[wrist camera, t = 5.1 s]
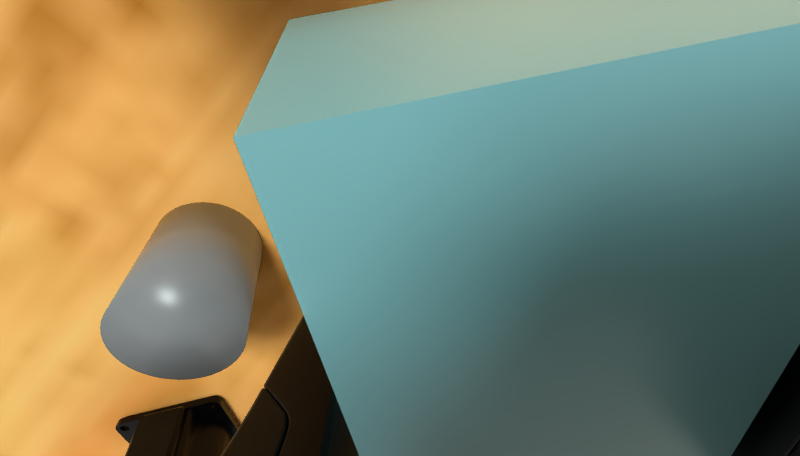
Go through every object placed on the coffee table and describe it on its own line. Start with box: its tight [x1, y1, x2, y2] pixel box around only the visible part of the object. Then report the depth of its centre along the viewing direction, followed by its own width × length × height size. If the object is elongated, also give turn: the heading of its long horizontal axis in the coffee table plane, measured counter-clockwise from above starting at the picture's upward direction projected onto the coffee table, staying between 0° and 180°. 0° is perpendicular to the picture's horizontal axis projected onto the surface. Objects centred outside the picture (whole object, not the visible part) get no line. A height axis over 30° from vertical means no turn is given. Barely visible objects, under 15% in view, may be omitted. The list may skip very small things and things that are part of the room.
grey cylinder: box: [100, 202, 263, 380], centre depth 18 cm, size 5×5×6 cm
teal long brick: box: [233, 0, 800, 456], centre depth 8 cm, size 10×5×6 cm, turn 8°
